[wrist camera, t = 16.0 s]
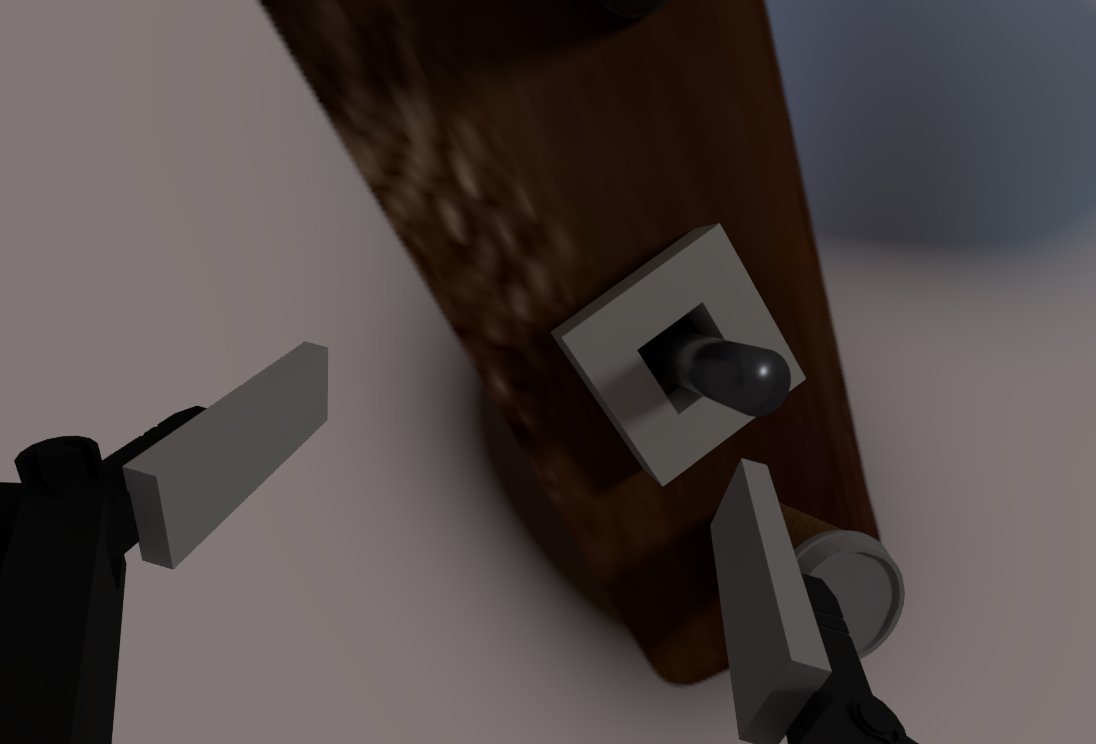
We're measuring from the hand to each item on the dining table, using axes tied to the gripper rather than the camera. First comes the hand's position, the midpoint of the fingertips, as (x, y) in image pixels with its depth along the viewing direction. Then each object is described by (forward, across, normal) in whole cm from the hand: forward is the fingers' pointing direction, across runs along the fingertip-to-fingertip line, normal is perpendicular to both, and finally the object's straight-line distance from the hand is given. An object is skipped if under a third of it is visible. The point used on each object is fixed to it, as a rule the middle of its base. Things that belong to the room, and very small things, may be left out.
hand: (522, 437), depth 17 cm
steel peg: (+27, +8, -7) cm, 29 cm away
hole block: (+27, +8, -7) cm, 29 cm away
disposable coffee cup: (+26, +19, -21) cm, 38 cm away
